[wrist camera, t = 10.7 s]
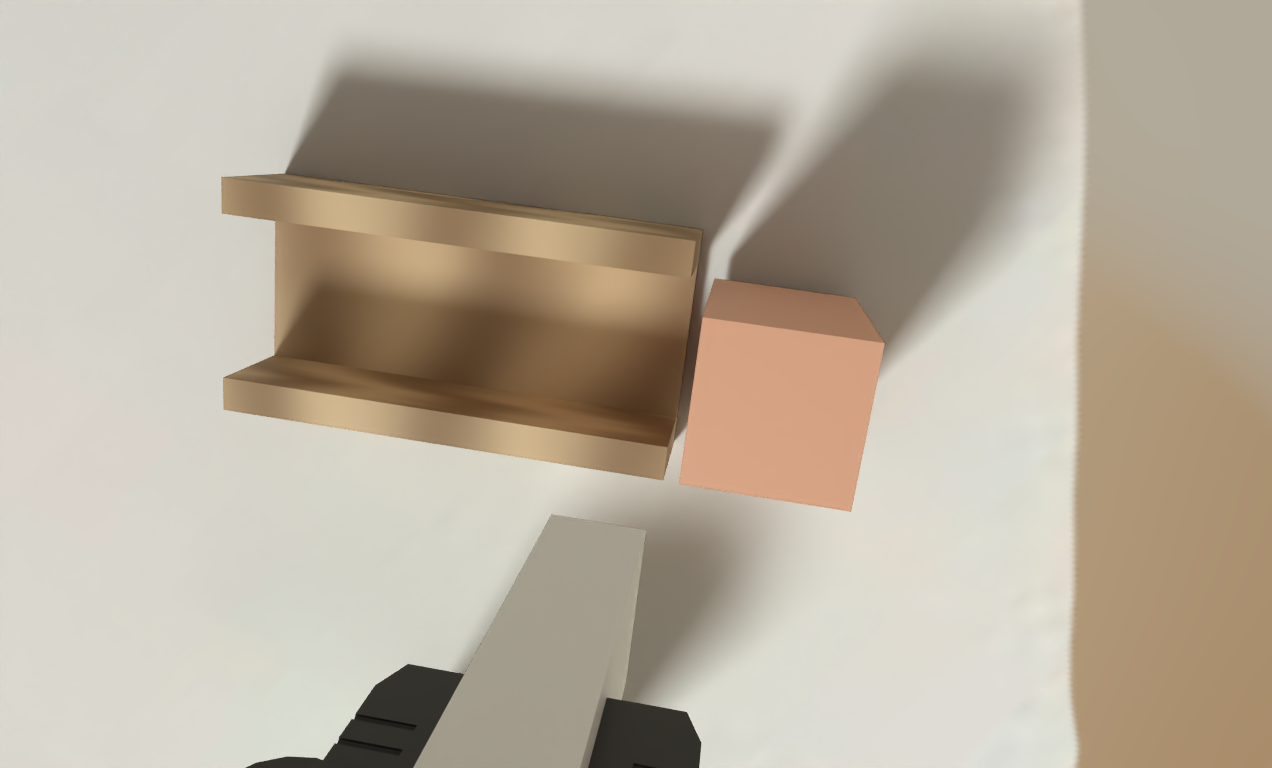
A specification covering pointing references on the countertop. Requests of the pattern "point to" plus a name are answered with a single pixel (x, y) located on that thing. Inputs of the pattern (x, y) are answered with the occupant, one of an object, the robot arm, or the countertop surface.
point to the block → (781, 394)
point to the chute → (471, 322)
